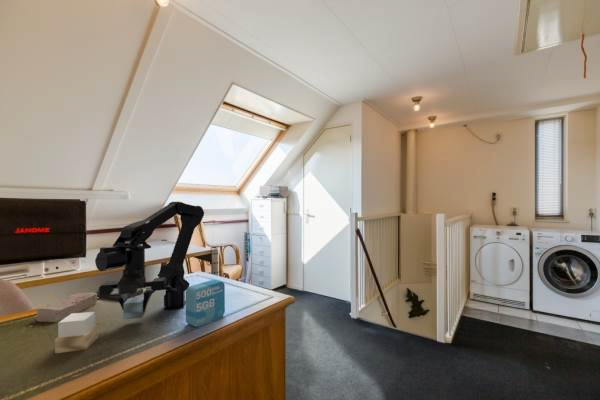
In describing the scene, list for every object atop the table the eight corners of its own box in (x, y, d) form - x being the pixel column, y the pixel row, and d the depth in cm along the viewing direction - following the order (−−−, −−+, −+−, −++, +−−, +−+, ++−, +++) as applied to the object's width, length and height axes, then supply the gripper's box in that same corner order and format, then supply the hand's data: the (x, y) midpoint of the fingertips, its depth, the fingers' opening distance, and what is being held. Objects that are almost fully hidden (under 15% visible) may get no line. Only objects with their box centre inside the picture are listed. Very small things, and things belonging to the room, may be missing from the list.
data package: (193, 328, 85) (193, 289, 85) (185, 325, 88) (185, 287, 88) (225, 315, 95) (224, 280, 95) (216, 312, 98) (216, 278, 98)
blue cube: (145, 311, 93) (145, 296, 93) (141, 317, 88) (141, 302, 88) (129, 313, 91) (129, 298, 91) (123, 319, 87) (123, 303, 87)
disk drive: (94, 299, 114) (122, 302, 110) (94, 292, 114) (122, 295, 110) (117, 291, 124) (144, 293, 120) (117, 284, 124) (143, 287, 120)
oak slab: (98, 337, 81) (98, 324, 81) (86, 350, 74) (86, 335, 74) (70, 341, 79) (69, 327, 79) (55, 354, 72) (55, 339, 72)
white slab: (95, 325, 80) (95, 311, 80) (84, 335, 74) (84, 320, 74) (71, 327, 79) (71, 313, 79) (58, 337, 73) (58, 322, 73)
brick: (57, 322, 91) (57, 308, 91) (34, 322, 92) (34, 308, 92) (98, 304, 108) (98, 292, 108) (78, 304, 108) (78, 292, 108)
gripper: (89, 272, 80) (89, 326, 80) (160, 267, 84) (160, 319, 84) (105, 263, 90) (106, 311, 90) (168, 260, 95) (168, 305, 95)
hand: (135, 312), depth 90 cm, fingers closed on blue cube, 5 cm apart
